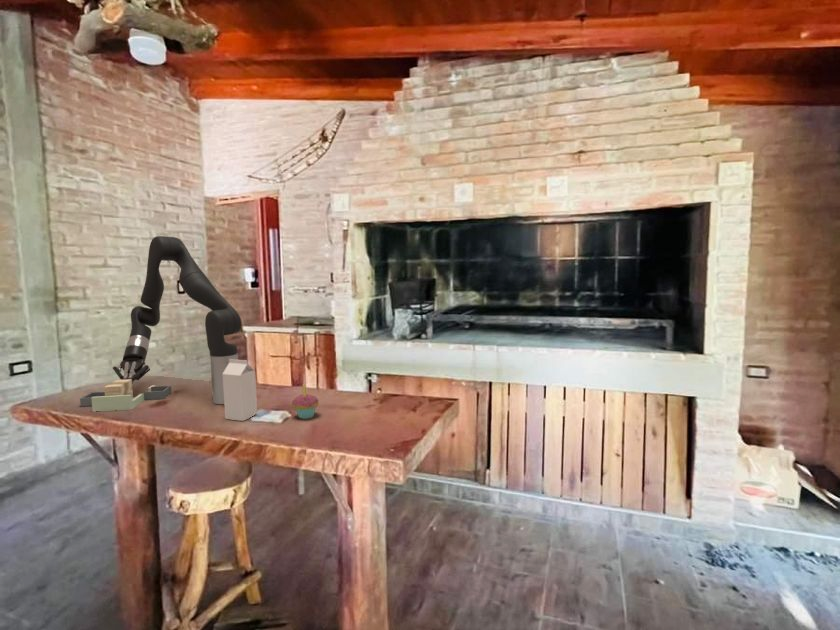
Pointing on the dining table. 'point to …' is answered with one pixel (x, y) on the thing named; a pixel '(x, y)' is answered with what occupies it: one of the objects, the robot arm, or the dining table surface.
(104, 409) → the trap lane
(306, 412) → the cupcake
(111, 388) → the beech block
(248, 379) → the milk carton
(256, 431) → the dining table surface
